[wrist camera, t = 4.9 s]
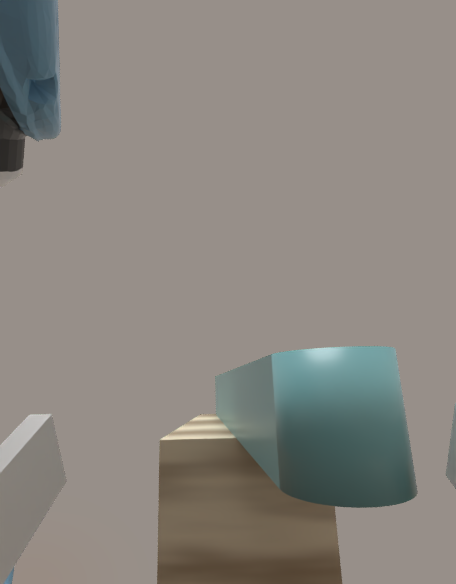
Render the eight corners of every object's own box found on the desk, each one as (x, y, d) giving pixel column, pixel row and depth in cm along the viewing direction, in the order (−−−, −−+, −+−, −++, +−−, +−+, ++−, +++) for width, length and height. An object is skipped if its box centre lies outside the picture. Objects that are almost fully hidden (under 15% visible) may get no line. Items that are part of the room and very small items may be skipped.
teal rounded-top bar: (451, 501, 9) (423, 344, 10) (299, 512, 9) (287, 347, 10) (249, 411, 40) (247, 376, 41) (214, 413, 40) (213, 377, 41)
